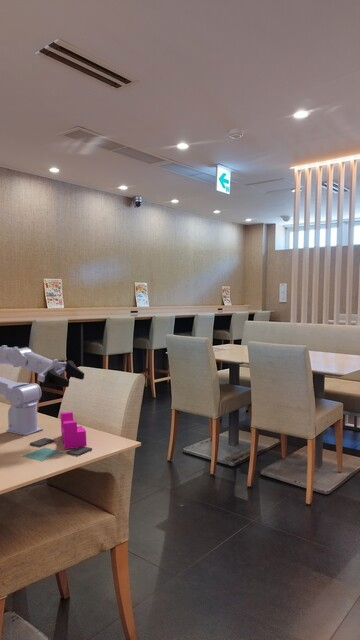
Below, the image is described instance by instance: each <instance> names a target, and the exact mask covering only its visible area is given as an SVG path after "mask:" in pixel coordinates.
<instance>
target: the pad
mask: <svg viewBox="0 0 360 640" xmlns="http://www.w3.org/2000/svg"><path fill="white" fill-rule="evenodd" d="M63 453H64V451H61V450H58V449H57V450H56V449H53V448H48V447H44V446H43V447H42V448H39V449H36V450H34V451H31V452H28V453H26V454H23V455H22V457H23V458H28V459H31V460H35V461H39V462H43V461H45V460H48V459H51V458H53V457H55V456H58V455H61V454H63Z"/></svg>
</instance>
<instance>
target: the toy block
mask: <svg viewBox="0 0 360 640" xmlns="http://www.w3.org/2000/svg"><path fill="white" fill-rule="evenodd" d="M60 427H61V428H60V429H61V430H60V432H61V439H62V442H63V445H64V449H65V450H66V449H67V450H68V449H74V448H77V447H83V446H84V447H87V431H86V429H85V427H83V425H80V426H78V421H77V420H76V419H74V413H73V411H64V412H60Z"/></svg>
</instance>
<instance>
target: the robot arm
mask: <svg viewBox="0 0 360 640" xmlns="http://www.w3.org/2000/svg"><path fill="white" fill-rule="evenodd" d="M0 364H2V365H12V366H13V368H19V367H22V368H24V369H27V370H29V371H31V372H33V373H36V374H38V375H37V381H38V382H41V383H44V386H45V387H64V388H69V386H70V380H69V379H68V378H73V379H74V378H75V379H77V380H84V379H85V372H83V371H82V370H81V369H80V368H78V366H76V364H75V363H74V361H73V360H71V359H70V360H67V361H66V362H65V361H64V362H63V361H59V359H57V358H55V359H53V360H52V359H50V358H47V357H45V356H42V355H40V354H38V353H35V352H34V350H32V348H30V347H27V346H26V347H22V348H19V347H18V346H13V347H8V345H5V344H4V345H1V346H0ZM64 372H65V373H66V374H65V377H64V376H63V375H62V374H63V373H64ZM0 395H4V398H5V401H7V402H9V403H10V404H11V405H10V407H9V409H8V411H7V419H8V421H7V423H8V428H7V429H6V430H5V431H6V432H8V433H12V434H17V435H21V436H28V435H31V434H35V433H36V432H40V431H44V427H39V426H38V404H39V400H41V397H42V389H41V386H40V385H39V384H37V383H35V382H31V383H27V382H18V381H17V382H16V381H13V380H11V379H8V378H6V377H5V378H4V377H3V376H0Z"/></svg>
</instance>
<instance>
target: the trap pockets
mask: <svg viewBox="0 0 360 640" xmlns="http://www.w3.org/2000/svg"><path fill="white" fill-rule="evenodd" d="M55 440H56V439H51V438H47V437H43V438H39V439H38V440H35V441H32V442H29V445H30V446H34V447H37V448H38V447H39V448H41V447H44V446H47V445H49V444H51V443H55ZM92 450H93V448H92V447H87V446H83V447H76V448H71V449H69V450H67V451H66V455H67V454H68V455H73V456H75V457H79V456H81V455H83V454H86V453H88V452H91V451H92Z"/></svg>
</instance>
